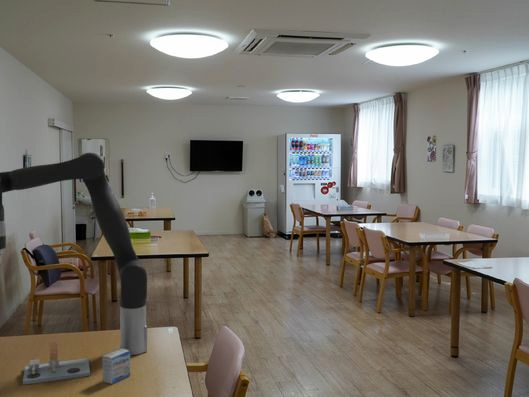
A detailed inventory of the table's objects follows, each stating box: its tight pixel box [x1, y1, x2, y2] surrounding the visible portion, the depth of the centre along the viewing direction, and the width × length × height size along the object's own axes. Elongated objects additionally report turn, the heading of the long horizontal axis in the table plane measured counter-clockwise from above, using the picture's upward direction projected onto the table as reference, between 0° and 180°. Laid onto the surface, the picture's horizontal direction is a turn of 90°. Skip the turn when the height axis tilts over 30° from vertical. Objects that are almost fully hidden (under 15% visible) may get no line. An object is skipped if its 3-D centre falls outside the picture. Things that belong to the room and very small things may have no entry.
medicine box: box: [101, 348, 131, 385], centre depth 166 cm, size 8×4×9 cm, turn 148°
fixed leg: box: [28, 358, 41, 376], centre depth 167 cm, size 3×7×2 cm, turn 21°
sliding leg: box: [48, 338, 60, 373], centre depth 169 cm, size 3×7×9 cm, turn 21°
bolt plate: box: [22, 358, 91, 386], centre depth 170 cm, size 20×12×2 cm, turn 111°
